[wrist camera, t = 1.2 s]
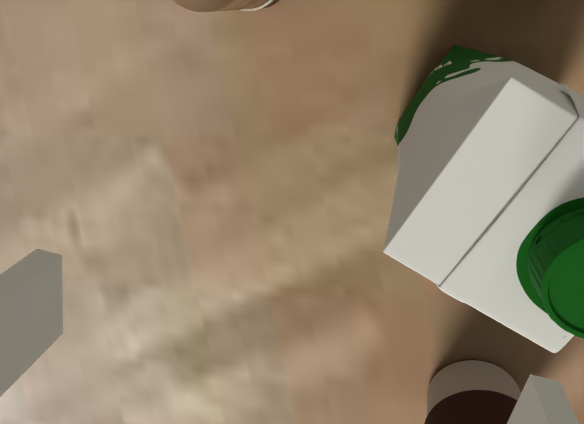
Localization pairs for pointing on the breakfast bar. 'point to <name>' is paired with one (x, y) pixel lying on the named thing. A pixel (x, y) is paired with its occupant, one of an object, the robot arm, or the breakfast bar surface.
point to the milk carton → (495, 193)
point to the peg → (224, 4)
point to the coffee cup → (471, 394)
